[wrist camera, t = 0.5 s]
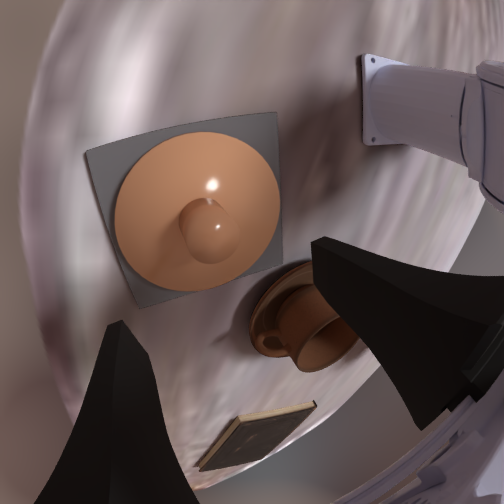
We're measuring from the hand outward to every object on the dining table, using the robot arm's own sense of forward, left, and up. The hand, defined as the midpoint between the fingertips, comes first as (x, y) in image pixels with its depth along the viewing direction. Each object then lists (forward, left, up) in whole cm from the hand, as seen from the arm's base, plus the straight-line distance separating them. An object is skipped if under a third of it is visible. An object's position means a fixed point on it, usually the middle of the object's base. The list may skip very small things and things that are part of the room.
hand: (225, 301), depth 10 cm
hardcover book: (-1, +46, -11) cm, 47 cm away
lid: (-1, +1, -9) cm, 10 cm away
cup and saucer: (-9, +13, -10) cm, 19 cm away
